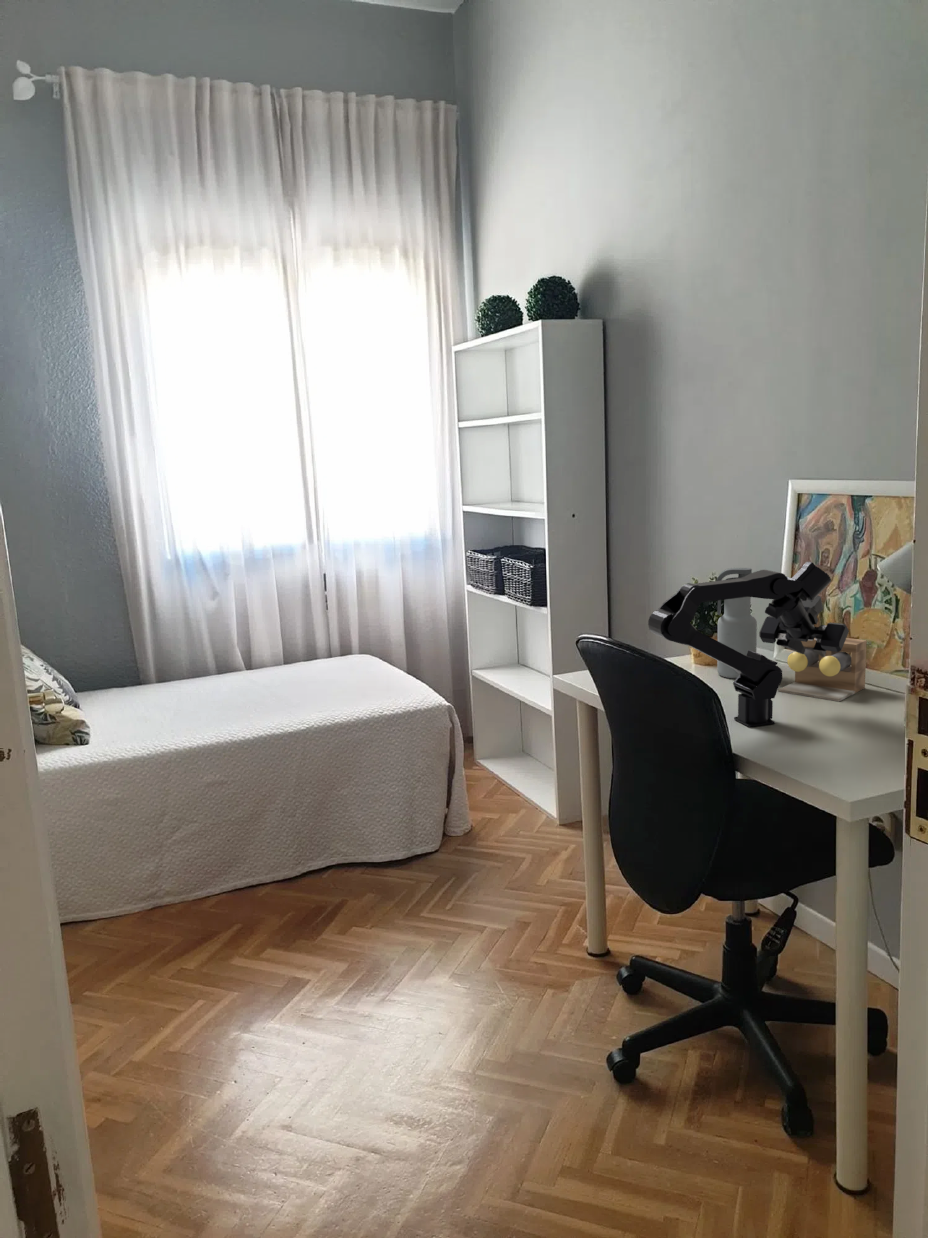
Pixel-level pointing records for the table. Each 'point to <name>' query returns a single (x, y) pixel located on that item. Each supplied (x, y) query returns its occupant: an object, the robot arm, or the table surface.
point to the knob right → (835, 663)
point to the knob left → (802, 659)
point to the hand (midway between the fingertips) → (813, 654)
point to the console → (832, 686)
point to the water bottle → (736, 624)
